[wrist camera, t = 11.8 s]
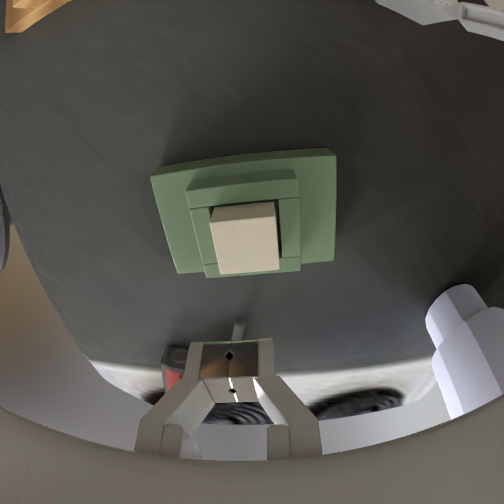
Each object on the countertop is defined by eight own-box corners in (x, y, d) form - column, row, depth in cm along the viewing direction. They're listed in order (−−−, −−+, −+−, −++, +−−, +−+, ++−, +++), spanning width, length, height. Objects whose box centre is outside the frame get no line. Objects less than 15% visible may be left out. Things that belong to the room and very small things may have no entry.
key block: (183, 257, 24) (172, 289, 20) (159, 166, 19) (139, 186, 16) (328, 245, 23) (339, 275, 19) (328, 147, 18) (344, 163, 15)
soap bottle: (457, 258, 23) (565, 467, 3) (492, 286, 25) (573, 443, 5) (397, 326, 28) (454, 527, 8) (441, 341, 31) (495, 496, 10)
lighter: (374, 2, 12) (435, -28, 5) (377, -15, 11) (436, -49, 4) (453, 44, 12) (526, 47, 6) (455, 27, 11) (526, 25, 5)
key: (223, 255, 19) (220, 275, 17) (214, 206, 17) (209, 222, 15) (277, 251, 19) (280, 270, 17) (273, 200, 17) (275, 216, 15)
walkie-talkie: (227, 401, 38) (253, 311, 27) (225, 427, 34) (252, 348, 23) (168, 392, 37) (162, 296, 26) (163, 417, 33) (149, 331, 22)
